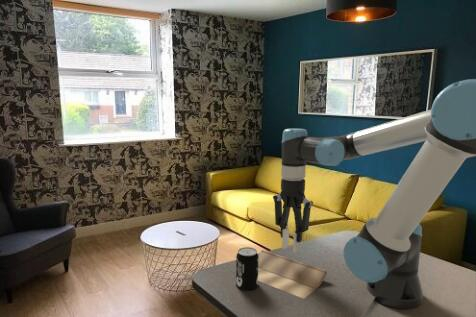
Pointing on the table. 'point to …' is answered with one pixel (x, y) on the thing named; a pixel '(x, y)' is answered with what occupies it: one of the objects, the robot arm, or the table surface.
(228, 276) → the table surface
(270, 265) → the loose plank
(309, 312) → the table surface
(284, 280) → the laid plank
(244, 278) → the beverage can
